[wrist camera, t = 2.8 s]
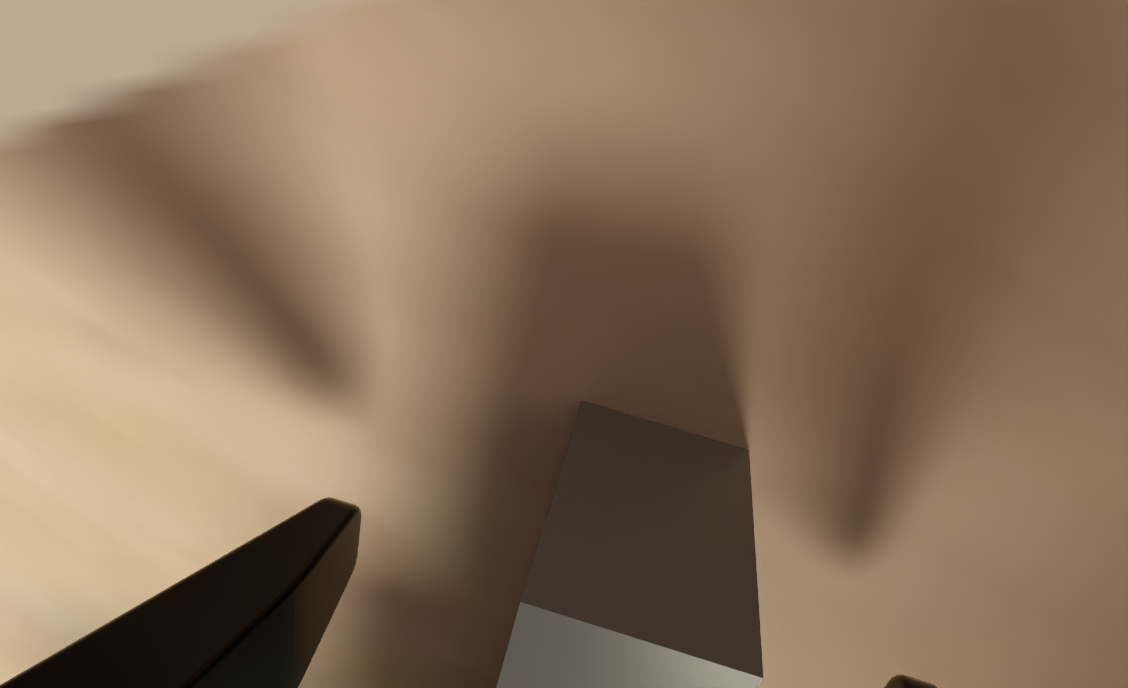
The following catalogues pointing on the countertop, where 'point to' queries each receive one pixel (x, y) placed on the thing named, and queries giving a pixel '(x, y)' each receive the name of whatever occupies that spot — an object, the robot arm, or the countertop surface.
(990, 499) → the countertop surface
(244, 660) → the robot arm
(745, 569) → the plug
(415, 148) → the countertop surface
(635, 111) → the countertop surface
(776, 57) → the countertop surface
